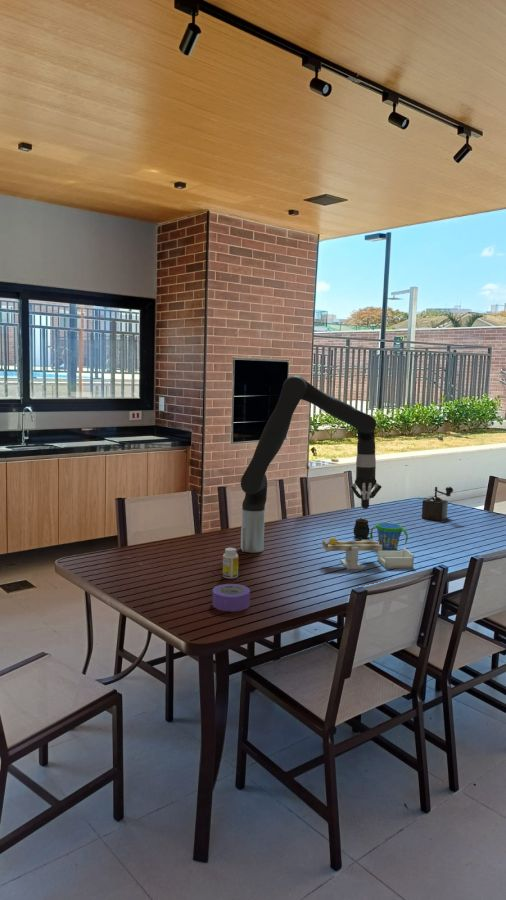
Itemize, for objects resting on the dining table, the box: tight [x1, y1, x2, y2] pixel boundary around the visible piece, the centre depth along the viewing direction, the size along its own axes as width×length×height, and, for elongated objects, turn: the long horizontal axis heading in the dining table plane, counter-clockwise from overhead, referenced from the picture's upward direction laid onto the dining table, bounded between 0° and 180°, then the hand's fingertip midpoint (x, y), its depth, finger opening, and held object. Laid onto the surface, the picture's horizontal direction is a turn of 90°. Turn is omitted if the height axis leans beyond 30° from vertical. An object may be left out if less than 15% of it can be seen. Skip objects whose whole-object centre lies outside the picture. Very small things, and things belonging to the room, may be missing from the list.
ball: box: [328, 537, 338, 545], centre depth 248 cm, size 3×3×3 cm
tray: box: [377, 547, 415, 569], centre depth 252 cm, size 11×10×5 cm
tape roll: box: [212, 583, 251, 612], centre depth 203 cm, size 12×12×5 cm
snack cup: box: [369, 522, 409, 551], centre depth 273 cm, size 16×10×10 cm
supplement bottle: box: [222, 547, 239, 580], centre depth 231 cm, size 6×6×10 cm
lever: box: [321, 539, 383, 552], centre depth 252 cm, size 22×12×3 cm, turn 97°
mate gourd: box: [353, 517, 371, 539], centre depth 293 cm, size 7×8×10 cm
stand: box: [339, 547, 364, 570], centre depth 249 cm, size 6×11×8 cm, turn 6°
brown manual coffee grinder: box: [421, 486, 454, 522], centre depth 335 cm, size 16×11×18 cm
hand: (365, 508), depth 256 cm, fingers closed
